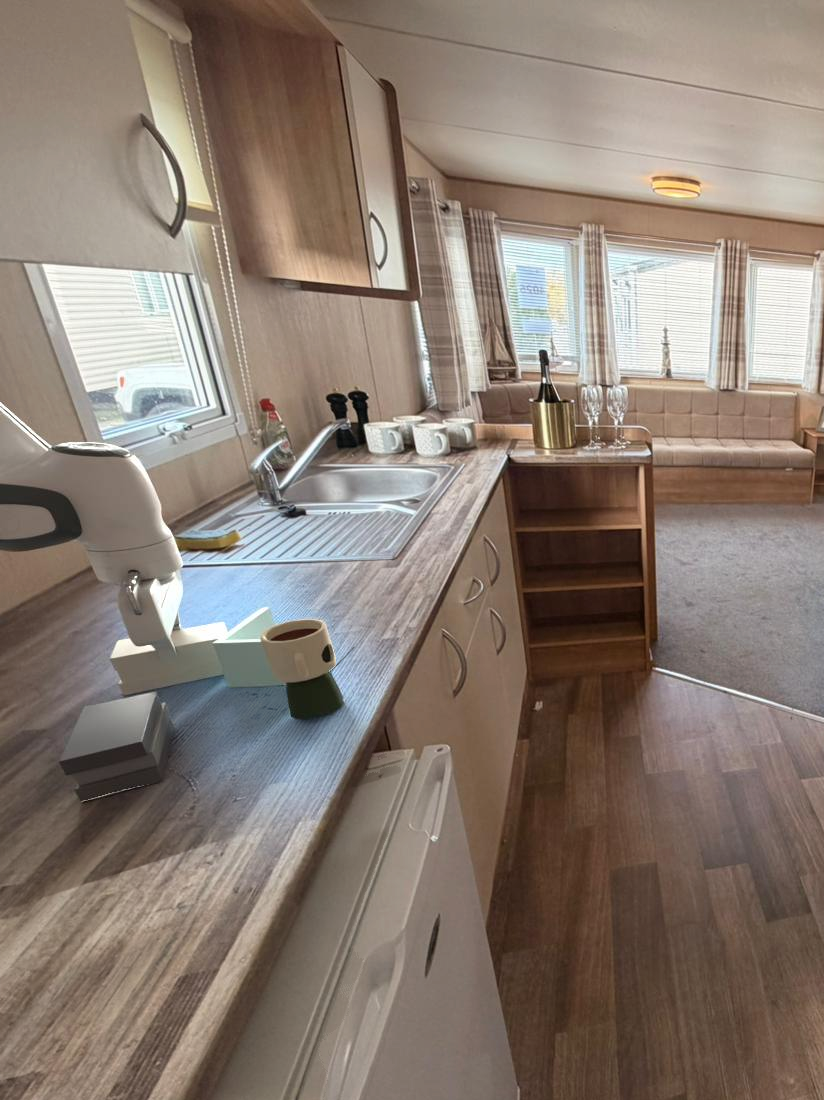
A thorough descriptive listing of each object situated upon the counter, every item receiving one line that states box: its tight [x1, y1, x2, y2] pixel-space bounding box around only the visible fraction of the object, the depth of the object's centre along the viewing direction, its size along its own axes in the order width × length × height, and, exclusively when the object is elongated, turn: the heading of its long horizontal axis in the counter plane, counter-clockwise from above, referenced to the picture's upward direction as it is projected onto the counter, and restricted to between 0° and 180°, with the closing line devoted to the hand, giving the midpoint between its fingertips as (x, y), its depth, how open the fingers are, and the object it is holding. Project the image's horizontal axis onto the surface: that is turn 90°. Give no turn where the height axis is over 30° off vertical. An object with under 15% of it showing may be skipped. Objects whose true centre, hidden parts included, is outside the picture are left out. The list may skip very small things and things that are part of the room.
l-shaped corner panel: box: [212, 606, 286, 689], centre depth 99 cm, size 12×12×8 cm
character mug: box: [260, 618, 345, 720], centre depth 87 cm, size 11×7×13 cm, turn 37°
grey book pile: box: [58, 691, 176, 802], centre depth 77 cm, size 13×7×6 cm, turn 37°
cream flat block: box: [109, 621, 229, 672], centre depth 95 cm, size 12×6×2 cm, turn 127°
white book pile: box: [116, 652, 224, 696], centre depth 96 cm, size 12×7×4 cm, turn 127°
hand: (173, 646), depth 95 cm, fingers closed on cream flat block, 6 cm apart
